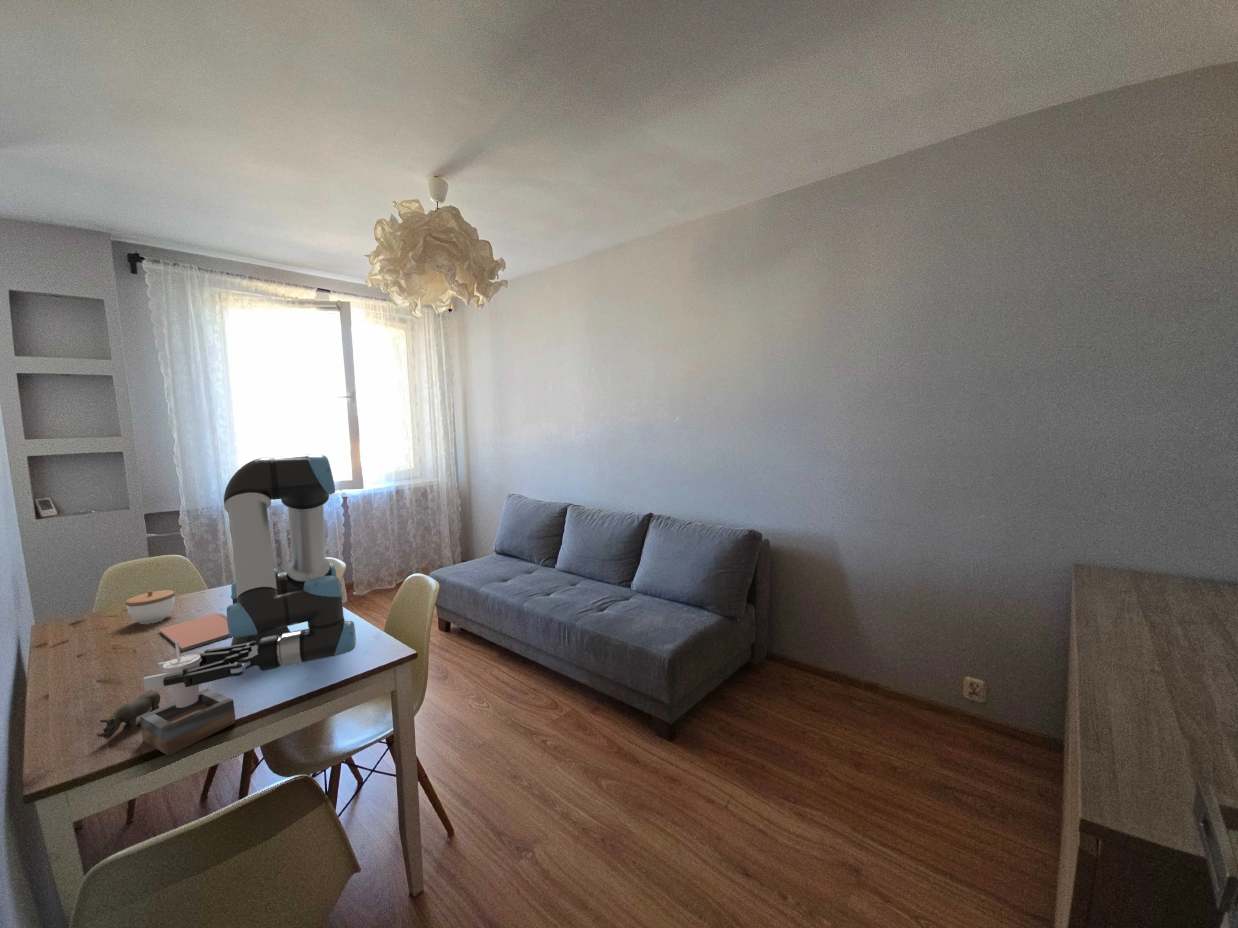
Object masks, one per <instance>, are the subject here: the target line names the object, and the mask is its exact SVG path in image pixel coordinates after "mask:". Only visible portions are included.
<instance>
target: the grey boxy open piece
mask: <svg viewBox="0 0 1238 928" xmlns="http://www.w3.org/2000/svg"><path fill="white" fill-rule="evenodd" d="M234 702H235V701H234V699H233V698H230V697H229V696H226V695H223V694H222V693H219V692H217V691H215V690H212V689H210V688H208V687H206V688H205V689H202V690H198V701H197V702H195V703H194V704H192V705H189V706H186V707H182V708H177V707H176V705H175V702H174V701H173V702H170V703H169V704H166V705H164V706H161V707H159V709H156V710H154V711H152V712H150V711H149V712H148V713H147V712H146V713H145V714H143V715H141V716H139V718H140V725H141V728H140V729H141V734H142V741H144V742H146V743H147V744H148V745H150V746H152V747H153V748H155V749H157V750H158V751H160V752H161V753H163V754H164V755H166V756H168V757H169V756H171V755H173V754H176V753H178V752H180V751H182V750H183V749H186V748H188V747H189V746H192V745H193V744H195V743H197V742H199V741H200V742H201V740H204V739H206V738H207V737H210V736H211V735H213V734H215V733H217V732H220V731H222V730H224V729H226V728H228V727H231V726H232V725H234V724H236V723H237V722H236V721H237V720H236V713H235V712H236V711H235V703H234Z"/></svg>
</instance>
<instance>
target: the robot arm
mask: <svg viewBox="0 0 1238 928" xmlns="http://www.w3.org/2000/svg"><path fill="white" fill-rule="evenodd" d="M335 493H336V486H335V481H334V477H333V473H332V468H331V464H330V461H329V459H328V457H327V456H326V455H324V454H311V453H310V454H307V455H305V454H304V455H290V456H275V457H270V456H269V457H267V456H266V457H259V458H256V459H252V460H251V461H249V462H247V463H245V464H244V465H243V466H241V467H240V468H239V469H238V470H237V471H236V472H235V473H234V474H233V476H231V477H230V480H229V481H228V483H227V484H226V487H225V489H224V494H223V507H224V510H225V511H226V512H227V513H229V515H230V516H229V517H230V527H231V529H230V530H231V540H232V553H233V554H232V555H233V564H234V565H233V566H234V577H235V578H234V579H235V580H234V581H232V582H231V583H232V584H231V586H230V589H231V595H230V598H231V599H232V604H230V605H228V606H227V607H226V616H227V624H228V631H229V635H230V637H231V638H232V639H231V640H232V641H231V643H230V645H228V646H227V645H226V646H222V647H216V648H210V649H206V650H204V651H203V652H202V653H199V654H198V655H200V656H201V662H200V665H199V667H198V668H194V669H191V670H186V668H183V670H178V671H173V672H168V673H165V672H163V668H162V666H163V665H164V664H165V663H166V662H168V661H169V660H168V661H161V662H158V663H157V668H158V674H155V675H149V676H145V677H144V678H143V686H144V691H145V692H148V691H154V690H157V689H158V690H159V689H161V688H167V687H170V686H172V685H177V684H181V683H184V684H185V687H190V686H194V685H198V684H199V685H201V684H206V683H210V682H214V681H219V680H222V679H227V678H233V677H240V676H242V675H243V674H244V671H245V670H247V669H251V668H252V667H254V666H255V667H256V666H258V669H259V670H260V671H262V672H266V671H269V670H274V669H279V668H280V667H281V665H282V666H283V667H287V666H292V665H294V666H299V665H300V664H302V663H306V662H311V661H316V660H320V659H321V660H322V659H326V658H330V657H332V658H333V657H336V656H340V655H344V654H347V653H350V652H352V651H353V650H354V649H355V648H356V644H357V642H356V641H357V640H356V639H357V637H356V636H357V635H356V634H357V633H356V627H355V622H354V621H353V620H345V618H344V617H345V616H344V607H343V606H344V605H343V593H342V588H341V582H340V581H341V580H340V579H339V578H338V576H337V570H336V567H335V564H334V563H332V562H330V561H329V559H328V558H326V557H325V528H324V527H325V525H324V524H325V521H324V520H325V519H324V505H325V504H326V503H327V502H328V501H329V499H330V495H333V494H335ZM273 500H274V501H276V500H281V503H282V505H283V506H285V507H287V508H288V518H289V519H288V521H289V536H290V537H289V538H290V539H289V540H290V551H291V562H290V563H289V564H288V565H287V567H286V570H284V571H279V570H278V569H277V568H275V563H274V562H275V561H274V555H273V547H272V546H273V545H272V538H271V530H270V523H269V522H270V521H269V513H268V510H269V508H270V507H271V505H272V501H273ZM306 622H307V627H308V628H305V629H299V630H294V631H291V630H290V628H289V627H291V626H294V625H298V624H302V623H306Z"/></svg>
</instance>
